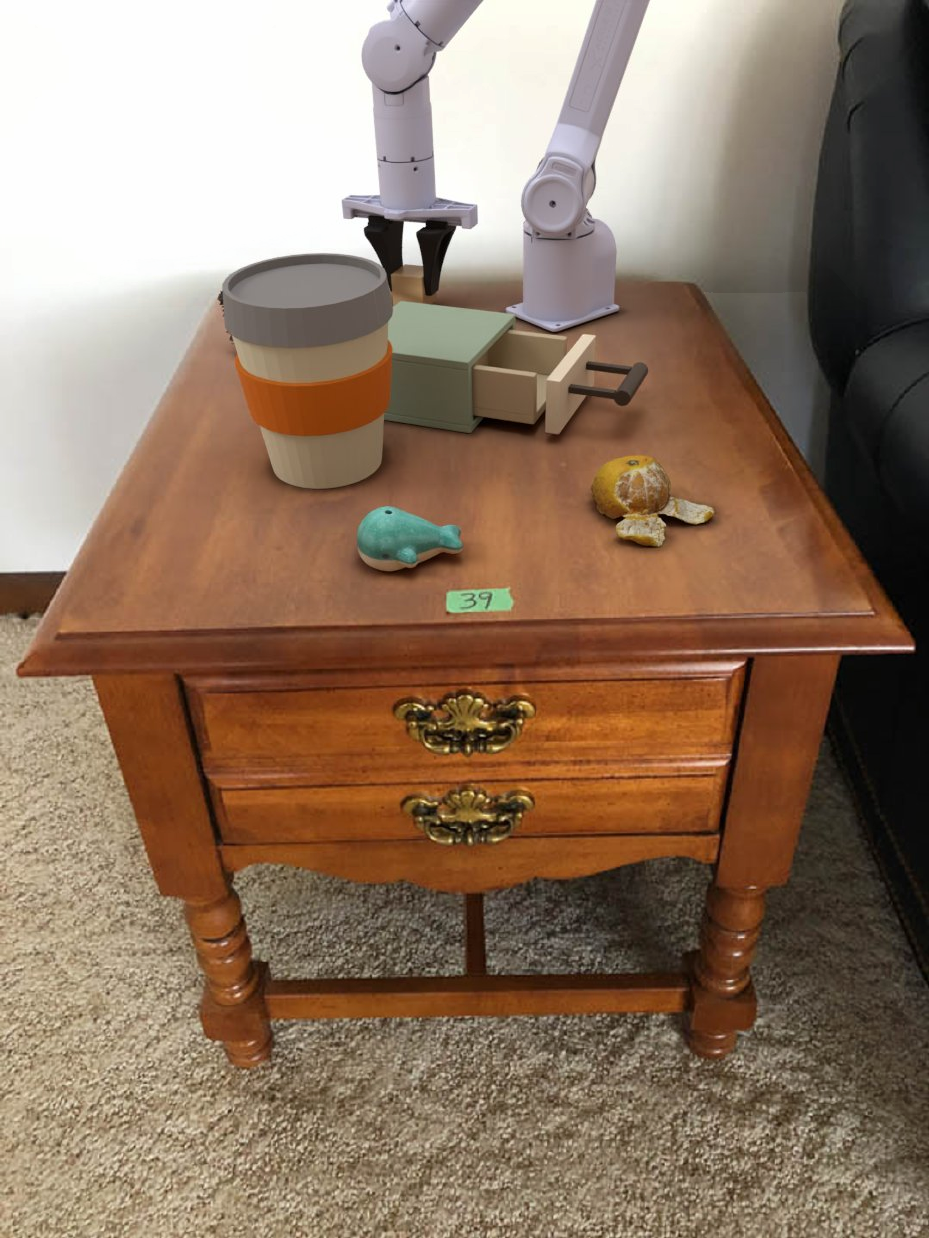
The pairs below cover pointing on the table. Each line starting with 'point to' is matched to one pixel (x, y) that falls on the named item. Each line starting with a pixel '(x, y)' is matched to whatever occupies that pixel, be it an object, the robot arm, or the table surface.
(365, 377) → the reusable coffee cup
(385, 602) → the table surface
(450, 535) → the whale figurine
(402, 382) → the cabinet
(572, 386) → the drawer
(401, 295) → the block
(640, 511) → the fruit
